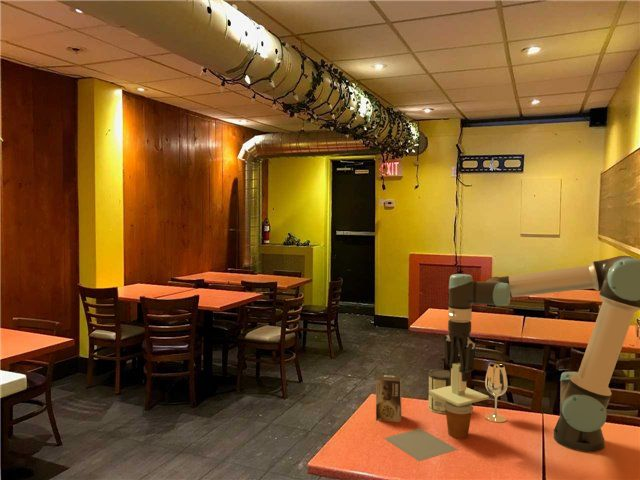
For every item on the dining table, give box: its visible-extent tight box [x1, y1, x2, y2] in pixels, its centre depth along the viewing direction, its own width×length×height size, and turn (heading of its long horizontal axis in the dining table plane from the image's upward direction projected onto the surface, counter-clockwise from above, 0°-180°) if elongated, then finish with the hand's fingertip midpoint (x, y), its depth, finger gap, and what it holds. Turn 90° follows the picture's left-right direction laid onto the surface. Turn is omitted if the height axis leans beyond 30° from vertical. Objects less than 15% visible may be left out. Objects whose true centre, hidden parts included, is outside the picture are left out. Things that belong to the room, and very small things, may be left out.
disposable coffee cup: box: [444, 401, 474, 440], centre depth 170 cm, size 10×10×12 cm
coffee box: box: [375, 374, 402, 423], centre depth 184 cm, size 9×6×16 cm
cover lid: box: [428, 362, 490, 406], centre depth 169 cm, size 14×14×11 cm
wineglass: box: [484, 363, 508, 423], centre depth 186 cm, size 8×8×20 cm
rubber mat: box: [383, 428, 459, 462], centre depth 163 cm, size 18×16×1 cm
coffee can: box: [427, 369, 451, 415], centre depth 195 cm, size 10×10×14 cm
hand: (458, 388), depth 169 cm, fingers closed on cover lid, 3 cm apart
